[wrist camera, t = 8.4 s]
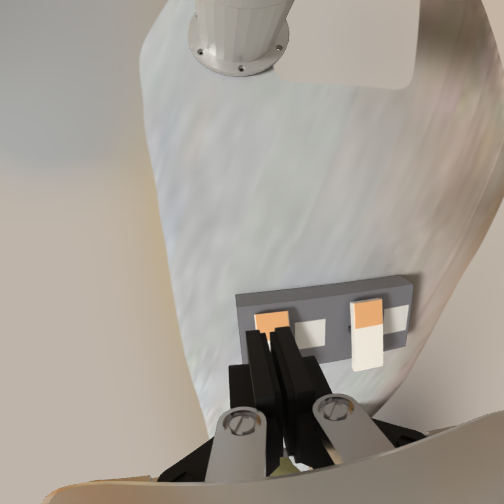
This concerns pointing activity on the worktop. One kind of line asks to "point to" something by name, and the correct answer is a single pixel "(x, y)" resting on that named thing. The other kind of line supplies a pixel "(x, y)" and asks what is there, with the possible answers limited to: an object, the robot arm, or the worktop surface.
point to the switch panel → (330, 314)
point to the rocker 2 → (367, 334)
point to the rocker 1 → (271, 322)
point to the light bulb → (285, 466)
